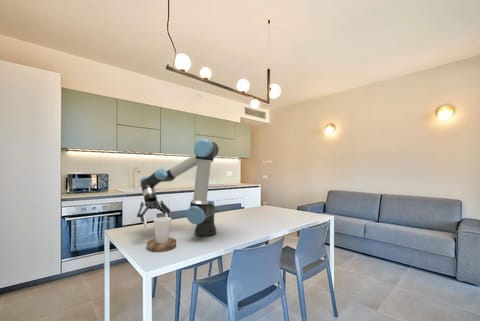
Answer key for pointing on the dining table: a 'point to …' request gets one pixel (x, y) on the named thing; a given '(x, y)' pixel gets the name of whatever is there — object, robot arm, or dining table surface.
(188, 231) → the dining table surface
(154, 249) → the walnut pedestal
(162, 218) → the foam cup
